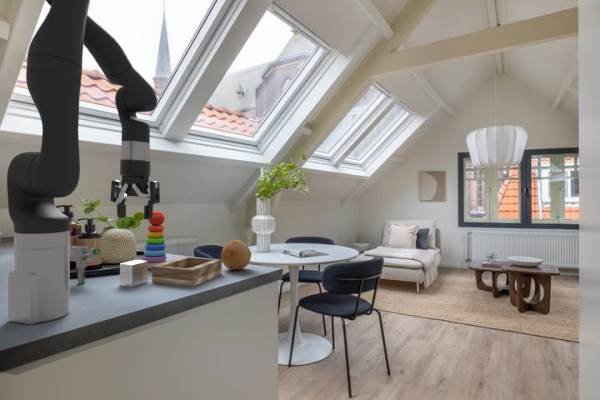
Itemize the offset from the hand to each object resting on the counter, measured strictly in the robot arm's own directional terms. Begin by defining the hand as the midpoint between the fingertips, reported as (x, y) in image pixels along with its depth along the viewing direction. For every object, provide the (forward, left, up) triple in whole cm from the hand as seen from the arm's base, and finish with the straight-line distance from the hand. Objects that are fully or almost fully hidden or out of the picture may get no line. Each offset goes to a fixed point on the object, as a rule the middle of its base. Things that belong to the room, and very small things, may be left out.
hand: (134, 218), depth 99 cm
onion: (+26, -18, -18) cm, 37 cm away
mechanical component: (-5, +13, -18) cm, 23 cm away
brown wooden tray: (+11, -10, -18) cm, 23 cm away
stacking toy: (+20, +9, -18) cm, 29 cm away
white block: (0, 0, -18) cm, 18 cm away
